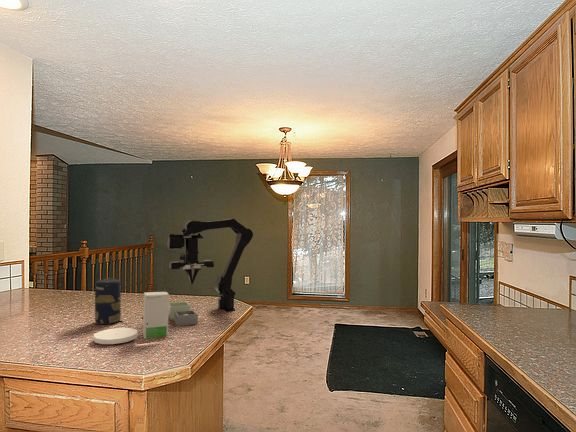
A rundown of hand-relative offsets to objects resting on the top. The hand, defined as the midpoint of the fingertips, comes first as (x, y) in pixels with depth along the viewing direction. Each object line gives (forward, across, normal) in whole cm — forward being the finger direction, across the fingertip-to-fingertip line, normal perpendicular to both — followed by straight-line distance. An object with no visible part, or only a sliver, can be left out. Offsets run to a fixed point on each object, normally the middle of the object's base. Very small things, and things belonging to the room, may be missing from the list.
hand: (191, 283), depth 178 cm
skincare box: (+13, +19, +30) cm, 38 cm away
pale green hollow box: (+13, +7, +7) cm, 16 cm away
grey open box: (+13, +6, +18) cm, 23 cm away
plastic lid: (+13, +32, +28) cm, 45 cm away
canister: (+13, +34, +2) cm, 36 cm away
